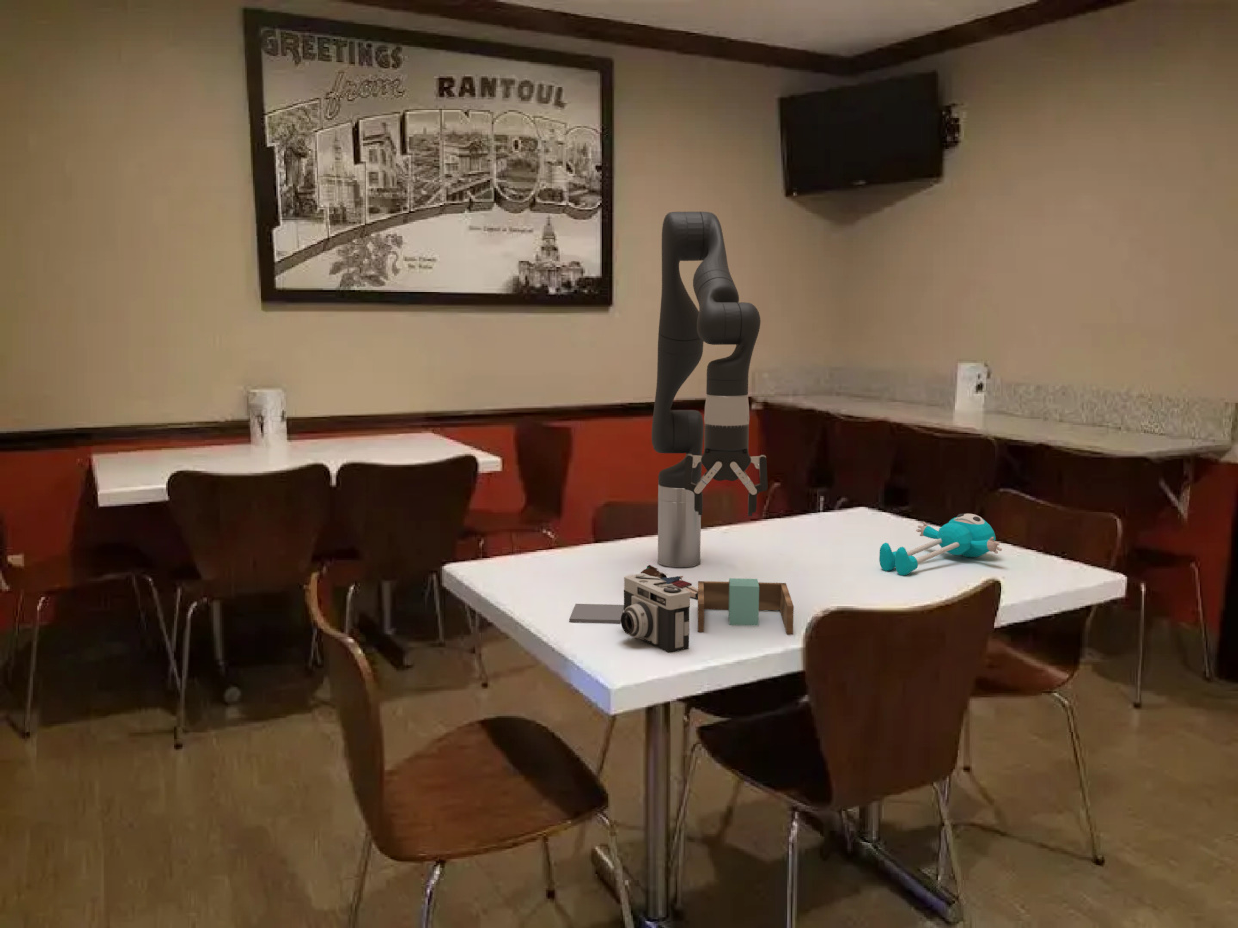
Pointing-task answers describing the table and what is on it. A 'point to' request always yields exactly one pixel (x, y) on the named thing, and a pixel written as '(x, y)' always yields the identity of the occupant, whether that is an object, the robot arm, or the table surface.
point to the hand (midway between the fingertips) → (724, 514)
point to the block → (743, 601)
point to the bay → (769, 599)
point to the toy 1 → (672, 580)
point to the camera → (656, 612)
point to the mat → (597, 613)
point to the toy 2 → (944, 543)
